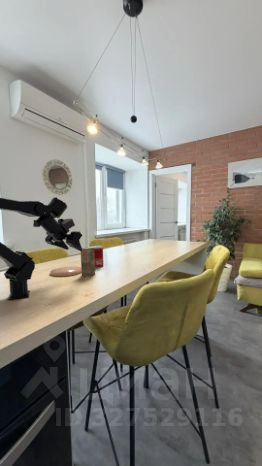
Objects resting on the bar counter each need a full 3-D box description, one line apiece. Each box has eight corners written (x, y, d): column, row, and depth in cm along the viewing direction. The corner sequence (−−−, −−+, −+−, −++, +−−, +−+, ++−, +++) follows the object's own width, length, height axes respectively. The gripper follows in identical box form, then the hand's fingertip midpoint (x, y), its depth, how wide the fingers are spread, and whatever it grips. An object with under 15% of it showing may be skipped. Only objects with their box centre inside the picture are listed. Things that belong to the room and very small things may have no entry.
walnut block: (88, 276, 103) (87, 249, 102) (81, 275, 105) (80, 248, 104) (95, 274, 106) (94, 247, 105) (88, 273, 109) (87, 247, 108)
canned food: (105, 264, 128) (104, 245, 127) (100, 267, 121) (99, 247, 120) (93, 264, 130) (92, 245, 129) (87, 267, 123) (86, 247, 122)
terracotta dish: (85, 274, 107) (85, 271, 107) (50, 278, 102) (50, 275, 101) (80, 267, 122) (80, 265, 122) (50, 270, 116) (49, 268, 116)
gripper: (77, 211, 88) (98, 236, 97) (49, 212, 99) (70, 235, 108) (62, 232, 82) (85, 257, 92) (34, 231, 93) (57, 253, 103)
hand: (74, 249), depth 99 cm, fingers open, 9 cm apart
